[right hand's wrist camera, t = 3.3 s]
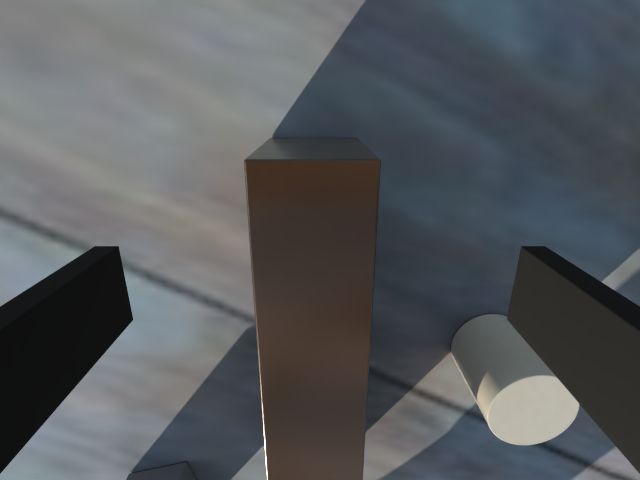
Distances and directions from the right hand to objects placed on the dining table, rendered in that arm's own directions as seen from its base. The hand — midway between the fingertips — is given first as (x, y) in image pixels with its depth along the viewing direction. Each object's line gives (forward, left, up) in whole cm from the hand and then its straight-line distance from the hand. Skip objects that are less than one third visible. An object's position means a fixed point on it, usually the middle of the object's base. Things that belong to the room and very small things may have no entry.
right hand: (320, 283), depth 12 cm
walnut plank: (+8, 0, -11) cm, 13 cm away
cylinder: (+10, +12, -11) cm, 19 cm away
